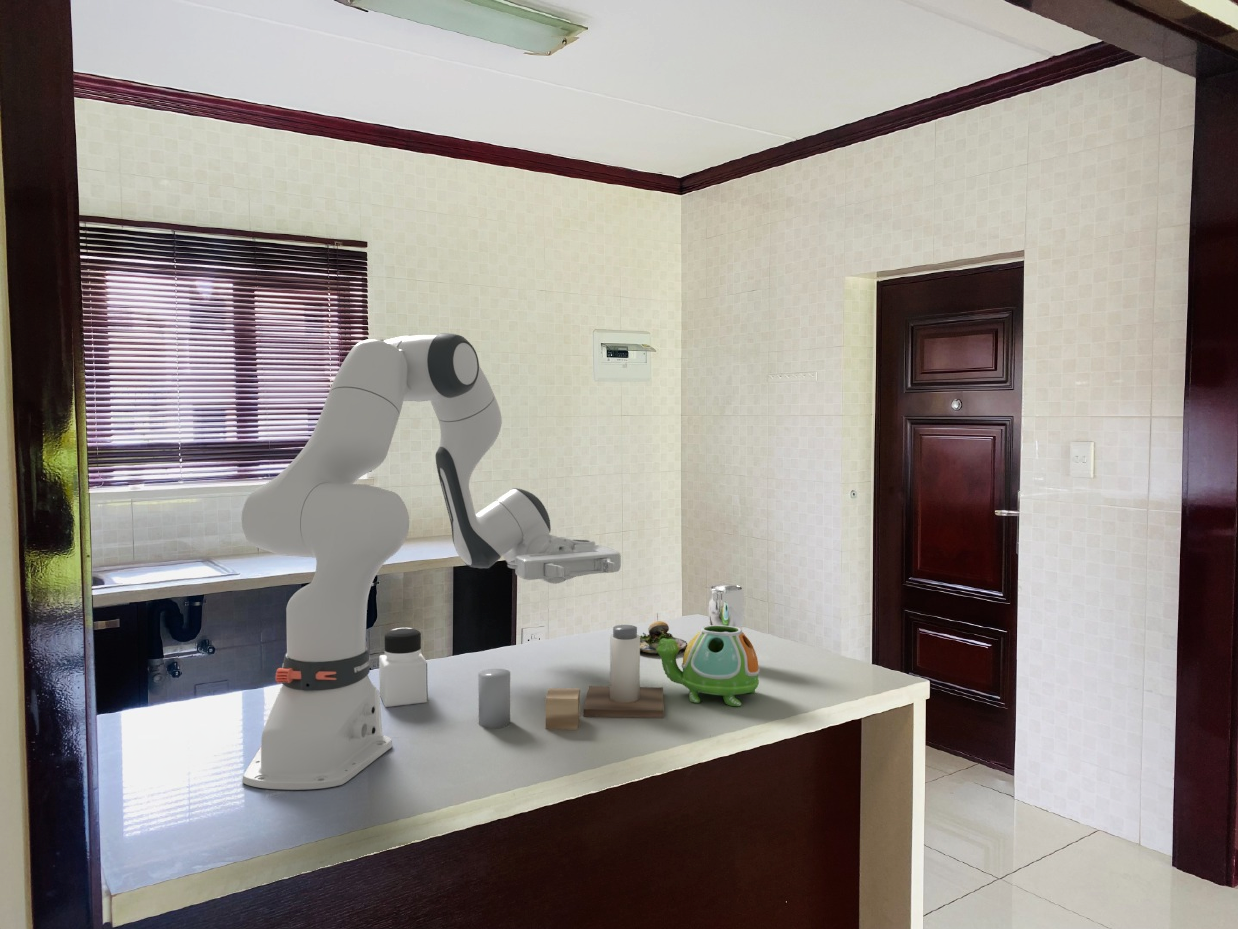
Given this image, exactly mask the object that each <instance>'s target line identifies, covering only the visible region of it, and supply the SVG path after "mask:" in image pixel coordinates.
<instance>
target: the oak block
mask: <svg viewBox="0 0 1238 929" xmlns="http://www.w3.org/2000/svg"><path fill="white" fill-rule="evenodd" d="M547 689H548V690H547V693H546V696H545V700H544V701H545V704H544V705H545V706H544V707H545V714H544V715H545V730H566V731H568V730H573V731H575V730H579V729H578V728H579V723H580V719H581V718H580V717H581V716H580V715H581V714H580V713H581V708H580V706H581V704H580V703H581V701H580V700H581V694H580V693H581V688H566V687H565V688H559V687H557V688H553V687H552V688H550V687H549V688H547Z"/></svg>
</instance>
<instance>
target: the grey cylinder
mask: <svg viewBox="0 0 1238 929" xmlns="http://www.w3.org/2000/svg"><path fill="white" fill-rule="evenodd" d="M477 676H478V679H477V680H478V682H477V683H478V691H477V692H478V725H479V726H480V727H481V728H486V729H499V728H504V727H507V726H508V725H510V724H511V671H509V670H508V669H504V668H489V669H484V670H481V671H479V672H478V675H477Z"/></svg>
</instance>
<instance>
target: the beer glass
mask: <svg viewBox="0 0 1238 929" xmlns="http://www.w3.org/2000/svg"><path fill="white" fill-rule="evenodd" d="M744 593H745V592H744V587H743V586H741V585H736V584H729V583H726V584H725V583H724V584H721V583H720V584H713V585H710V587H709V594H708V596H709V597H708V621H709V625H724V626H733V627H738V628H741V629H743V624H744V619H745V595H744ZM723 633H729V632H723Z"/></svg>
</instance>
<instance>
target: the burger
mask: <svg viewBox="0 0 1238 929" xmlns="http://www.w3.org/2000/svg"><path fill="white" fill-rule="evenodd" d="M656 618H657V621H654V622H653V623H651V624H650V625H649V626H648V628H647V629H648V630H647V631H648V634H646V633H644V632H642V634H643V635H639V636H640V652H645V653H646V654H647V653H648V654H658V653H657V651H656V648H658V645H659V642H660V640H661V639H662V638H665V639H674V640H675V641H676V643H677V646H678V648H679V651H682V650H683V649H684V650H686V648H687V645H688V642H687V641H686V640H684V639H681V638H677V637H674V636H673V634H672V633H669V630H670V627H669V624H668V623H666V622H665V621H662V620H659V616H658V613H656Z"/></svg>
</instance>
